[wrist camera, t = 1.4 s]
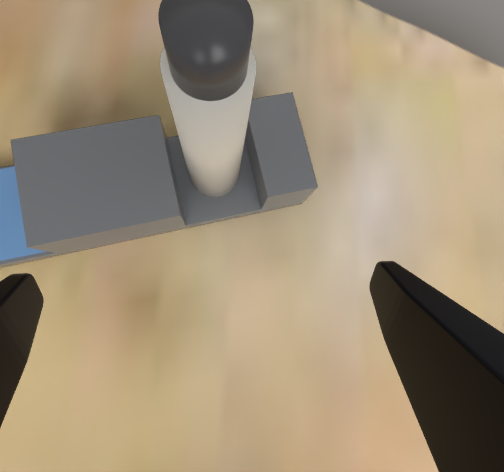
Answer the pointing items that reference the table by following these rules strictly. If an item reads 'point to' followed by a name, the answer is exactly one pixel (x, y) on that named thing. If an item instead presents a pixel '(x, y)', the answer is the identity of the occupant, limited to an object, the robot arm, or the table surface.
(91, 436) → the table surface
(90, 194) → the gray notched block
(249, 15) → the dark-capped white cylinder
